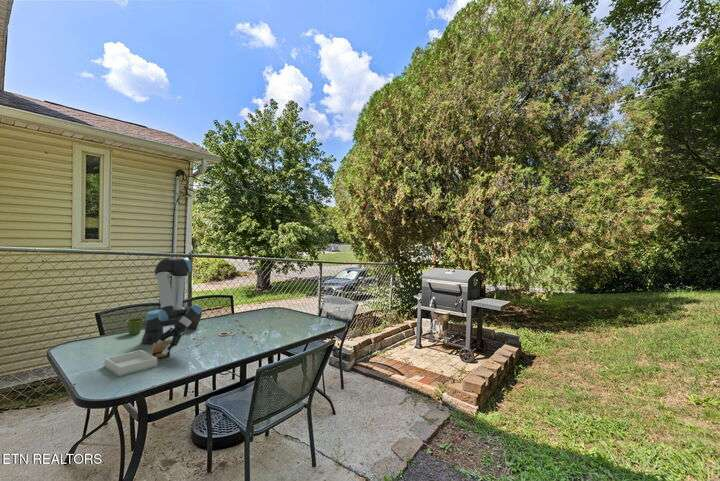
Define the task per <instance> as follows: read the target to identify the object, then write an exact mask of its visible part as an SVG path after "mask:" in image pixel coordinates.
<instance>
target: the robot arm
mask: <svg viewBox="0 0 720 481" xmlns="http://www.w3.org/2000/svg"><path fill="white" fill-rule="evenodd" d="M191 271H192V263H191V260H190V259H189V258H187V257H165V258H163V259H161V260H159V262H158V263H157V264H156V266H155V269H154V277H155V278H156V281H157V288H158V289H157V290H158V293H159V294H158V296H159V303H160V308H161V309H160V308H159V309H155V310H151V311H148V312H147V313H146V314H145V318H144V321H145V323H144V324H145V325H144V326H145V327H144V333H143V336H142V338H141V344H142V345H146V346H148V345H152V347H151V349H152V348H153V343H154V342H155V348H156V343H157V342H158V347H159V342H160V341H161V344H162V341H164V342H165V340H167V339H169V338H170V337H172V339H171V341H170V344H169V345H168V346H167V347H166V348H165V350H164V351H163V352H162V353H163V354H164V355H166V354H167V353H168V351H169V350H170V351H171V349H172V348H173V347H177V346H178V344H179V342H180V340H181V338H182V336H183V335H184V332H185V331H186V330H187V327H188V326H189V325H190V324H191V323H192V322H193V321H194V319H195V318H196V317H197V316H198V315H199V314H200V313H201V311H202V312H203V308H202V307H201V306H200V305H198V304H197V303H194V304H192V305H191V306H186V307H185V306H183V301H184V292H185V290H184V289H185V284H186V277H188V274H189V273H191ZM170 276H171V277H172V280H171V281H172V282H170ZM170 326H173V327H174V328H173V327H170ZM165 327H170V328H169V329H168V330H167V331H165V332H164V328H165Z"/></svg>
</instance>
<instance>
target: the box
mask: <svg viewBox="0 0 720 481" xmlns="http://www.w3.org/2000/svg"><path fill="white" fill-rule="evenodd" d="M103 365H104V367H105V368H106V369H108V370H109V371H110V372H112V373H113V374H114V375H116V376H118V377H123V376H126V375H129V374H133V373H136V372H141V371H144V370H147V369H152V368H154V367H155V368H156V367H157V366H158V360H157V358H156V357H154V356H153V355H152V353H149V352H147V351H145V350H143V349H140V350H134V351H131V352H125V353H121V354H117V355H113V356H109V357H104V363H103Z"/></svg>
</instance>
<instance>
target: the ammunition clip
mask: <svg viewBox="0 0 720 481" xmlns="http://www.w3.org/2000/svg"><path fill="white" fill-rule="evenodd" d="M167 339H168V340H167ZM167 339H165V341H162V343H161V341H160V342H159V347H158V342H157V343H156V348H155V342H154V343H153V344H152V347H153V348H152V347H151V349H152V351H151V355H153V356H154V357H156V358H157V361H158V360H163V359H167V358H170V357H171V349H170V350H169V351H168V353H167V354H166V355H164V354H163V353H162V352H163V351H164V350H165V348H166V347H167V346H168V345H169V344H170V343H171V341H170V339H169V338H167Z"/></svg>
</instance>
